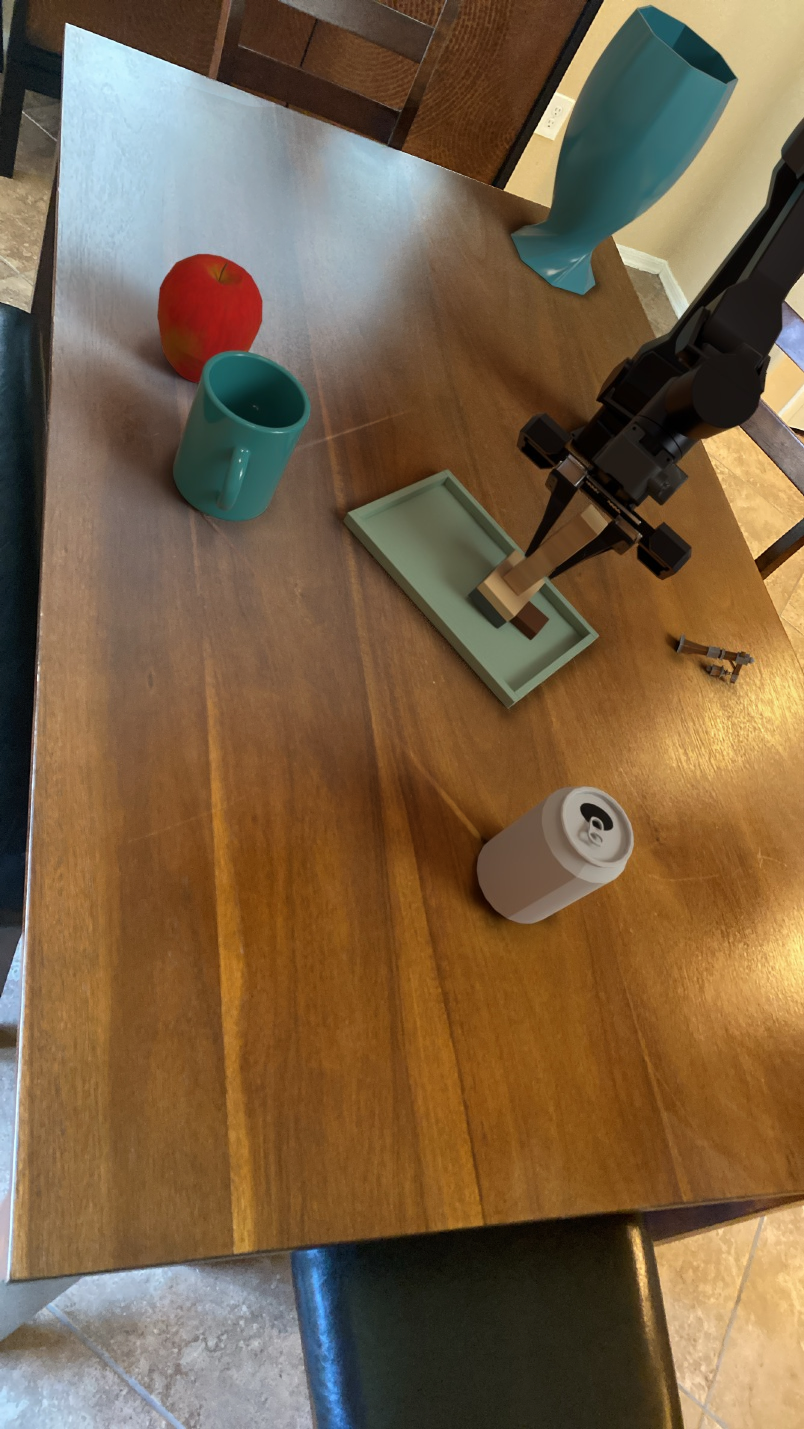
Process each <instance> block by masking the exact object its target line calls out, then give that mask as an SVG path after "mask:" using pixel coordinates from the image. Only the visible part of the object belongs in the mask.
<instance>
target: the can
mask: <svg viewBox="0 0 804 1429" xmlns="http://www.w3.org/2000/svg"><path fill="white" fill-rule="evenodd" d="M634 842H635V841H634V830H633V827H632V823H631V821H630V819H629V816H628V815H627V814H626V811H625V810H624V808H623V807H622V806H621V804H620V803H619V802H618V801H617V800H616V799H615V798H613V797H612V796H611V795H610V794H608V793H607V792H606V791H604V790H602V789H599V788H598V787H595V786H590V785H589V786H587V785H581V786H565V787H561V788H558V789H556V790H554V791H553V792H552V793H551V794H549V795H548V796H547V797H545V798H544V799H543V800H541V801H540V802H539V803H537V804H536V805H534V806H533V807H532V808H530V809H529V810H528V811H527V812H525V813H523V815H521V816H520V817H519V818H517V819H516V820H515V821H514V822H512V823H511V824H509V825H508V826H507V827H505V828H504V829H502V830H501V831H500V832H498V833H497V834H496V835H495V836H493V837H492V838H491V839H490V840H489V841H488V842H486V843H485V844H484V845H483V846H482V848H481V850H480V852H479V854H478V856H477V864H476V874H477V880H478V885H479V887H480V889H481V891H482V893H483V896H484V898H485V899H486V900H487V902H488V903H489V904H490V905H491V907H492V908H493V909H494V911H496V912H497V913H499V914H500V915H501V916H503V917H504V918H505V919H507V920H510V921H513V922H514V923H518V924H532V925H533V924H534V923H537V922H540V921H543V920H545V919H546V918H548V917H550V916H552V915H554V914H556V913H557V912H559V911H561V910H562V909H565V908H567V907H568V906H569V905H572V904H573V903H575V902H576V901H579V900H580V899H582V898H584V897H586V896H587V895H589V894H591V893H593V892H594V891H596V890H599V889H600V888H602V887H604V886H605V885H607V884H609V883H611V882H612V881H614V880H616V879H617V878H618V877H619V876H620V875H621V874H622V873H623V872H624V870H625V868H626V866H627V862H628V860H629V859H630V858H631V855H632V852H633V850H634V846H635V845H634Z"/></svg>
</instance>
